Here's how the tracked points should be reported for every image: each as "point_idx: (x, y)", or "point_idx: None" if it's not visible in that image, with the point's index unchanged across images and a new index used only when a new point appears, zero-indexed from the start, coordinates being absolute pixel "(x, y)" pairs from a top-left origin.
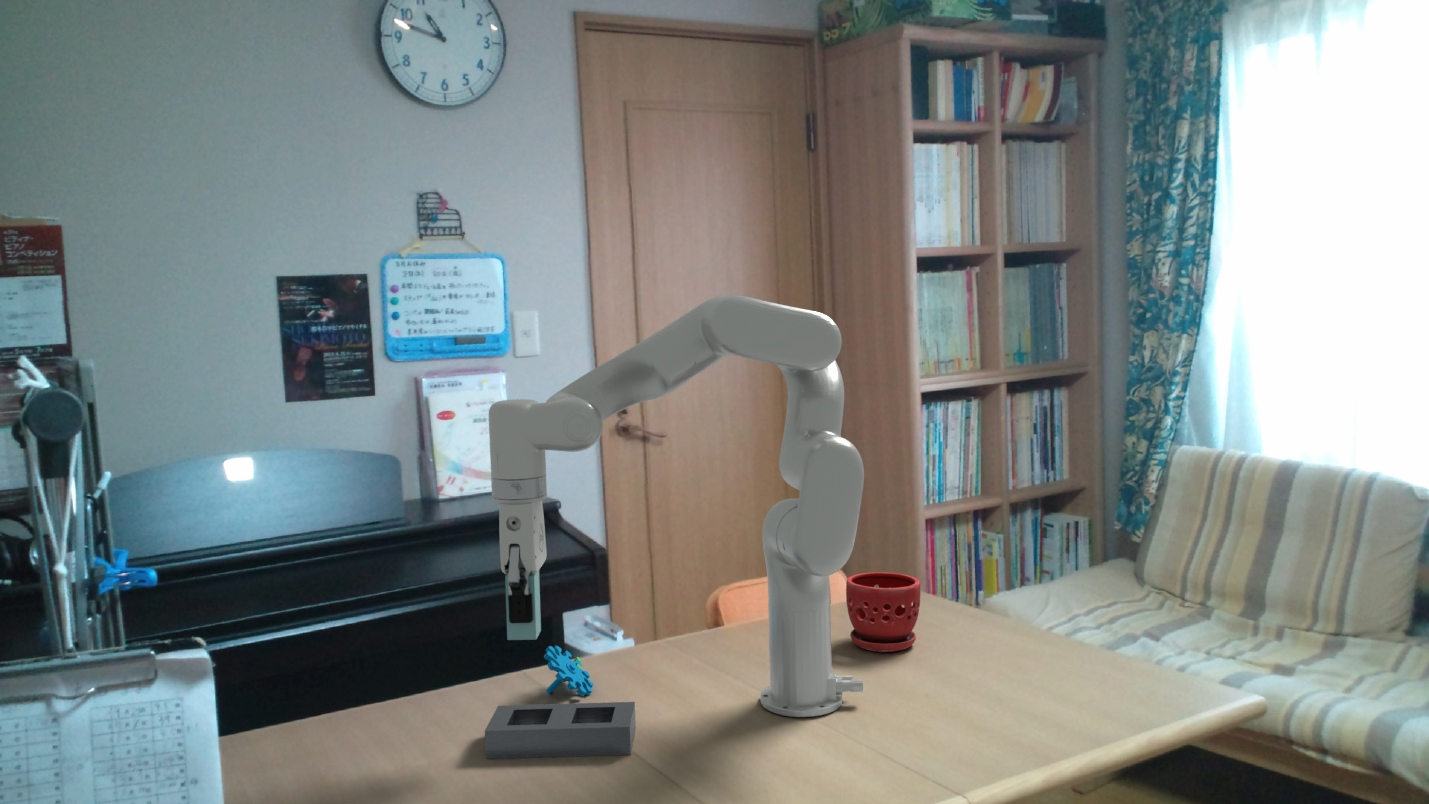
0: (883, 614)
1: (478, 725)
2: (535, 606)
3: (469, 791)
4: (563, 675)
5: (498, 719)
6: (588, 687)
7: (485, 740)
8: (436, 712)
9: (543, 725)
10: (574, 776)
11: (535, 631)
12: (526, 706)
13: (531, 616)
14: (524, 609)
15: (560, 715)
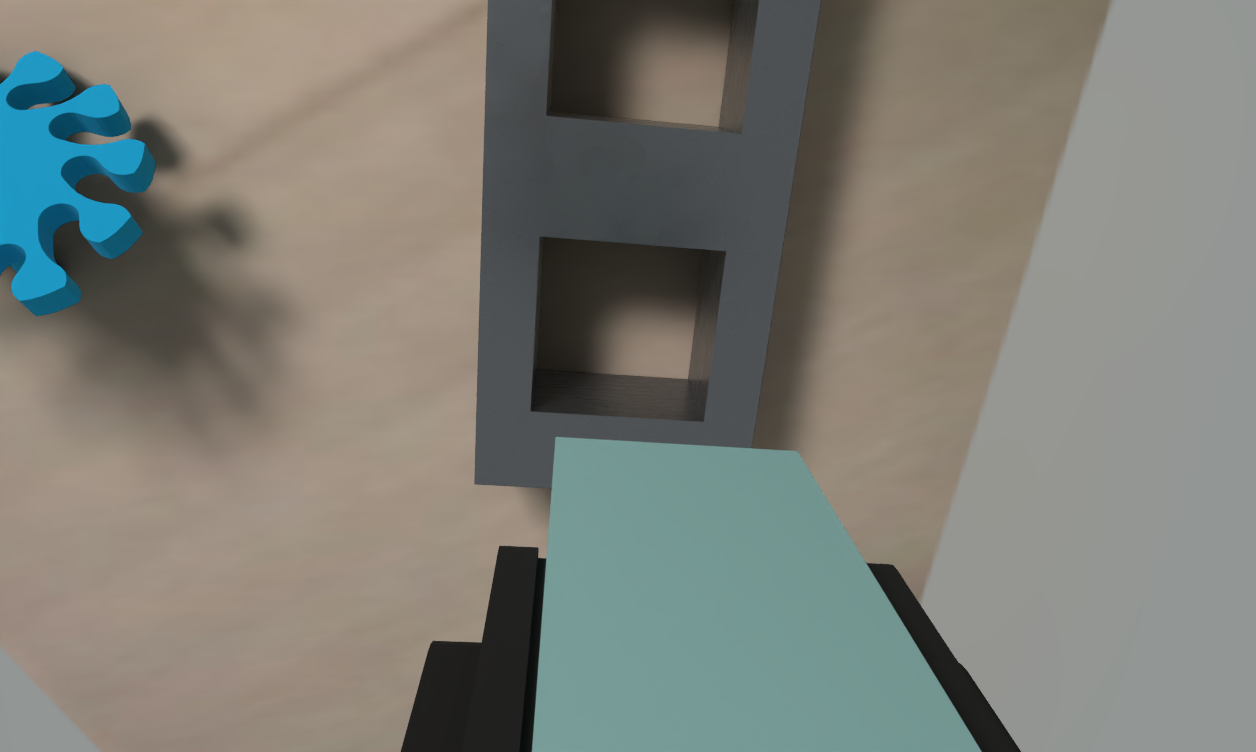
0: None
1: (413, 517)
2: (872, 621)
3: (958, 462)
4: (97, 213)
5: None
6: (29, 74)
7: None
8: (279, 675)
9: (736, 265)
10: (948, 106)
11: (814, 485)
12: (499, 363)
13: (913, 598)
14: (997, 720)
15: (633, 193)
